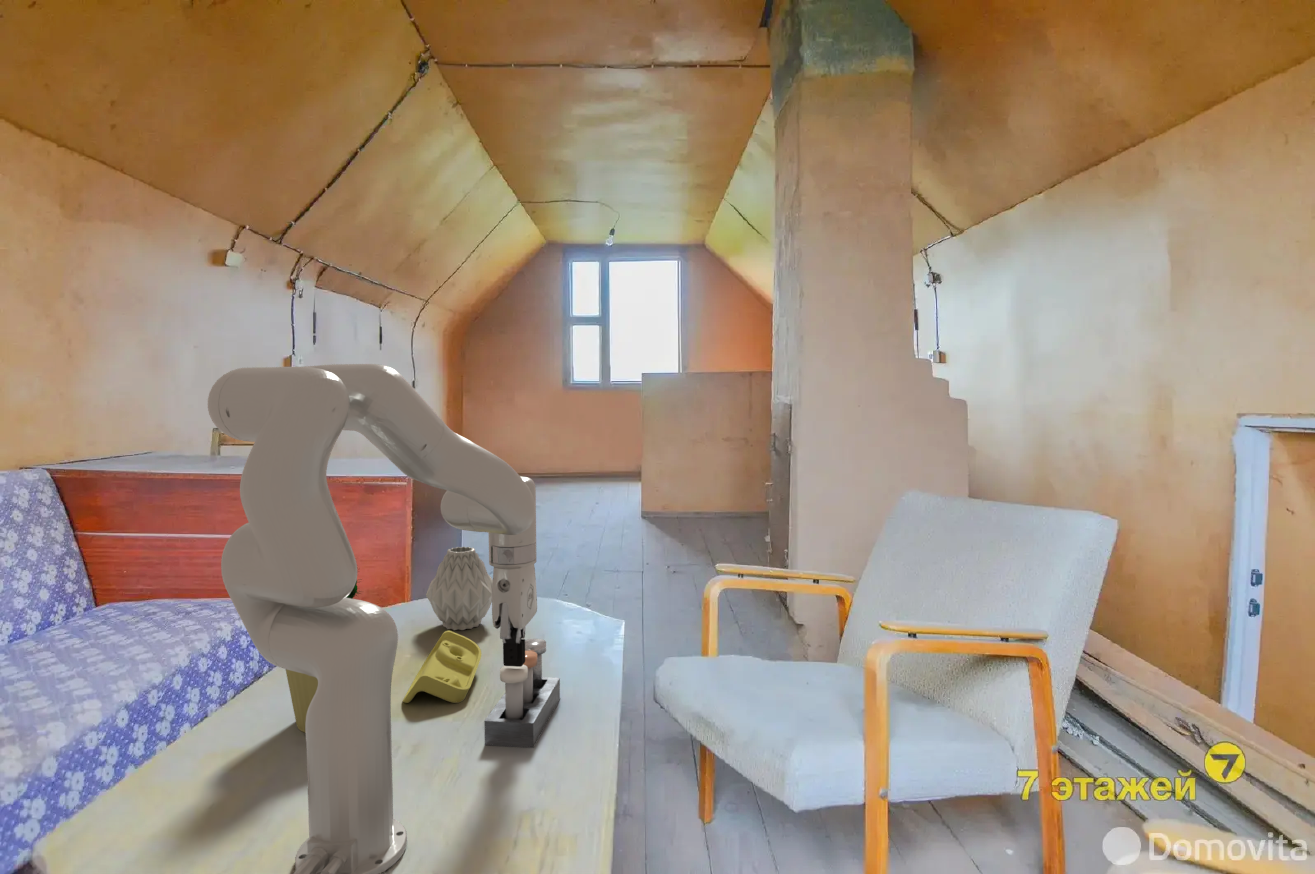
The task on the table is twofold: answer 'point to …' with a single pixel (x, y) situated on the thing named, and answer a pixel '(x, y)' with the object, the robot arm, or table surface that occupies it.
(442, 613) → the vase
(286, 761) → the table surface
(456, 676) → the plastic component
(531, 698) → the terracotta plunger
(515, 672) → the ivory plunger
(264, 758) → the table surface
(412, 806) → the table surface
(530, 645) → the grey plunger
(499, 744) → the grey socket block
